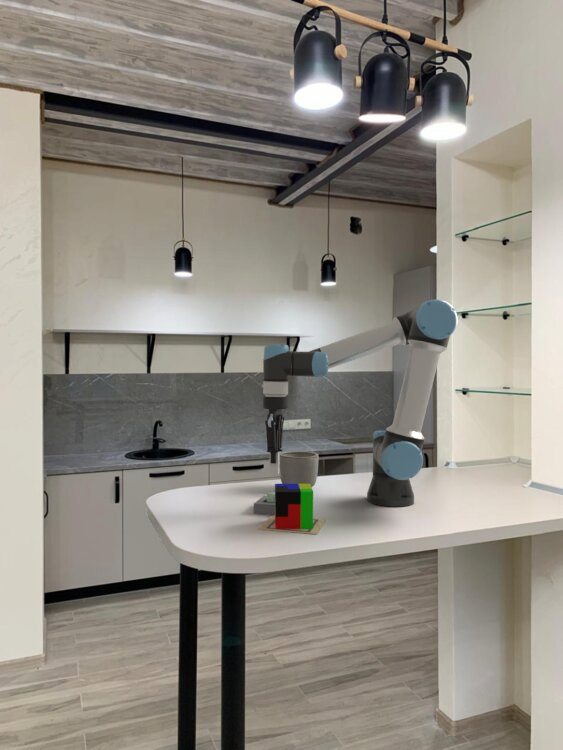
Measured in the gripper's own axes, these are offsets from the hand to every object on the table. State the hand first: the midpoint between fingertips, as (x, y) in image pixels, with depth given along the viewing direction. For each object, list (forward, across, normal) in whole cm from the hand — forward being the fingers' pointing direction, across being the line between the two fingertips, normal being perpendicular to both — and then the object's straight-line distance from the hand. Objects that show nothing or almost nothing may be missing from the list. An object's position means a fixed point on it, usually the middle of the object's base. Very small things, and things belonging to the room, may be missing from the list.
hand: (274, 473), depth 166 cm
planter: (+11, -27, +1) cm, 29 cm away
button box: (+11, 0, 0) cm, 11 cm away
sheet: (+11, +13, +9) cm, 19 cm away
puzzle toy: (+11, +13, +9) cm, 19 cm away
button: (+10, 0, 0) cm, 10 cm away
